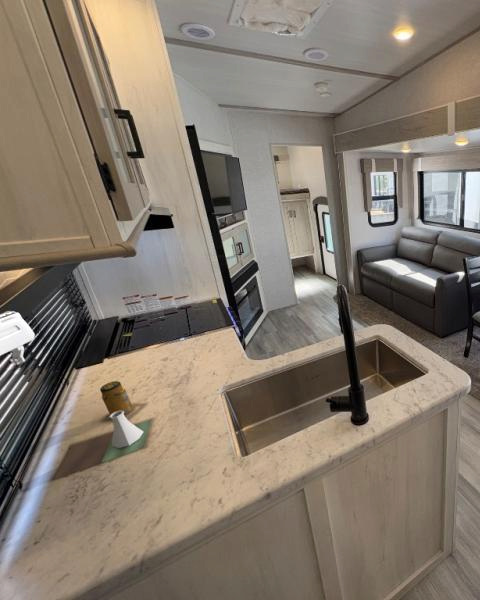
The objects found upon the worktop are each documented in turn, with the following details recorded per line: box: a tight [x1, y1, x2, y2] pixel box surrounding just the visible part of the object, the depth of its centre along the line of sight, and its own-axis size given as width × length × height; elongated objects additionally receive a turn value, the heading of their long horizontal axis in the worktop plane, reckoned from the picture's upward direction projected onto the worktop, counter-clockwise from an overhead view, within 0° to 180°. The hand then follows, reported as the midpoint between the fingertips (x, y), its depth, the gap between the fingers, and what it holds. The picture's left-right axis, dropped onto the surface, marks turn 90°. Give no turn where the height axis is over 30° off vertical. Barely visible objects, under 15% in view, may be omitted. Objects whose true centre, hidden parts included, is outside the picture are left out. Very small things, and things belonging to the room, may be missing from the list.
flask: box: [108, 410, 143, 448], centre depth 94 cm, size 7×7×10 cm
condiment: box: [99, 380, 134, 417], centre depth 106 cm, size 7×8×12 cm
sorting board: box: [53, 419, 152, 481], centre depth 94 cm, size 20×14×1 cm
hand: (0, 373), depth 78 cm, fingers open, 8 cm apart
